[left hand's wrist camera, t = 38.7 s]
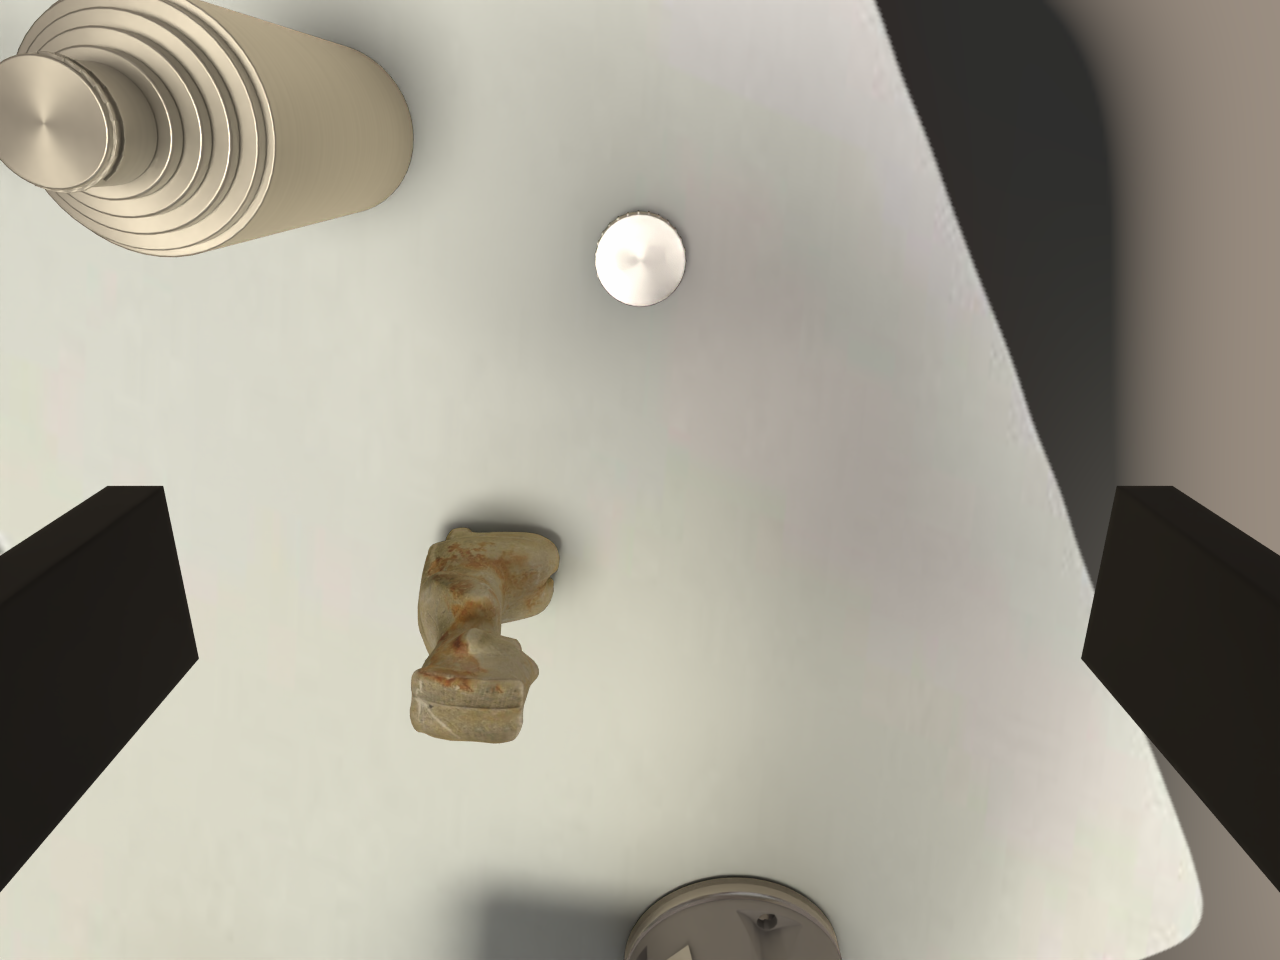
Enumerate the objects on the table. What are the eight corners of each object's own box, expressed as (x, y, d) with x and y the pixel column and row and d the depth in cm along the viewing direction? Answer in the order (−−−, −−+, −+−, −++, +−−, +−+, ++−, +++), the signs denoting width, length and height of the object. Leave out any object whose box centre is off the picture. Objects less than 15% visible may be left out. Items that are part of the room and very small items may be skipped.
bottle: (391, 236, 46) (173, 321, 24) (239, 181, 45) (-127, 219, 23) (431, 79, 43) (226, 20, 22) (271, 17, 42) (-109, -110, 21)
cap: (695, 223, 45) (697, 226, 43) (672, 310, 47) (673, 317, 45) (607, 200, 45) (606, 202, 43) (587, 289, 46) (585, 295, 45)
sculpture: (549, 611, 53) (517, 780, 39) (430, 588, 53) (353, 752, 39) (567, 524, 51) (540, 669, 37) (443, 500, 51) (367, 638, 37)
